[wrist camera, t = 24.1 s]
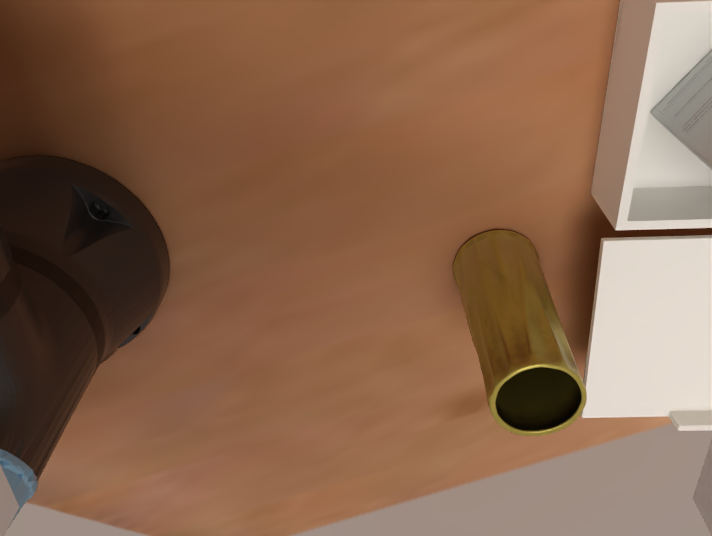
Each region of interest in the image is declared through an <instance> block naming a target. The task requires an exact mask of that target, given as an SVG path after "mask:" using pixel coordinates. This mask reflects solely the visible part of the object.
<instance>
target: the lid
mask: <svg viewBox="0 0 712 536" xmlns="http://www.w3.org/2000/svg"><path fill="white" fill-rule="evenodd" d="M583 383H584V385H585V387H586V393H587V400H586V405H585V407H584V409H583V411H582V412H581V416H582V418H601V417H657V416H669V418H670V419H671V421H672V422H673V424H674V425H675V427H676V428H677V430H678V431H690V430H692V431H693V430H712V235H693V236H657V237H621V238H601V244H600V252H599V261H598V269H597V277H596V285H595V294H594V302H593V310H592V319H591V327H590V335H589V344H588V352H587V356H586V364H585V372H584V381H583Z"/></svg>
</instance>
